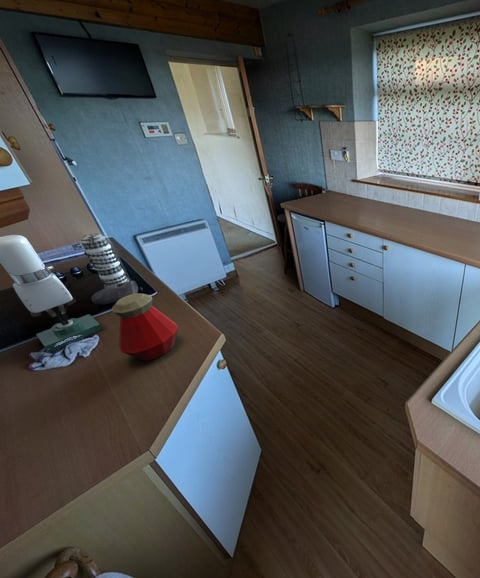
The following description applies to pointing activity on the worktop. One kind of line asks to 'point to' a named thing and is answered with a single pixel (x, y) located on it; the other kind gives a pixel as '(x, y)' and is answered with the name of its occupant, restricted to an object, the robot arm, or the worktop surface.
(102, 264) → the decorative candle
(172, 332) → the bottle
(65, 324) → the pump button
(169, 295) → the worktop surface
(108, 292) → the perforated stone tool
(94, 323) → the green flat block
